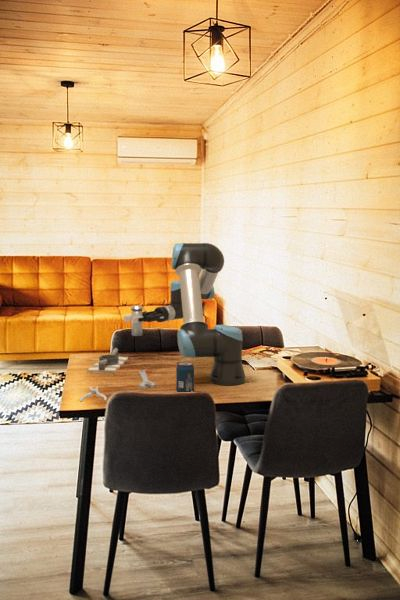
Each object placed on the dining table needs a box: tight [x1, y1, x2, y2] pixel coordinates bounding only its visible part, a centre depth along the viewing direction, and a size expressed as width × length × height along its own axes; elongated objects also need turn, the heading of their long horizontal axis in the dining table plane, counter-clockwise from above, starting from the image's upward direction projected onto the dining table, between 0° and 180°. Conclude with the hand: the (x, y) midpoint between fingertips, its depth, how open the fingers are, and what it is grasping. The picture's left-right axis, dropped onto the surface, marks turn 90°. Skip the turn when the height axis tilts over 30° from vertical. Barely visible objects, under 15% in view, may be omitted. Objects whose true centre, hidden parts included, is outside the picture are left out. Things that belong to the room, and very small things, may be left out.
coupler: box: [131, 304, 143, 337], centre depth 275 cm, size 5×5×14 cm
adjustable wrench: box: [138, 369, 156, 390], centre depth 243 cm, size 25×6×2 cm, turn 7°
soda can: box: [175, 361, 195, 393], centre depth 225 cm, size 7×7×12 cm
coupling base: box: [86, 347, 130, 375], centre depth 265 cm, size 26×12×5 cm, turn 173°
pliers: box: [79, 386, 108, 403], centre depth 222 cm, size 10×2×15 cm
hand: (128, 319), depth 271 cm, fingers closed on coupler, 5 cm apart
